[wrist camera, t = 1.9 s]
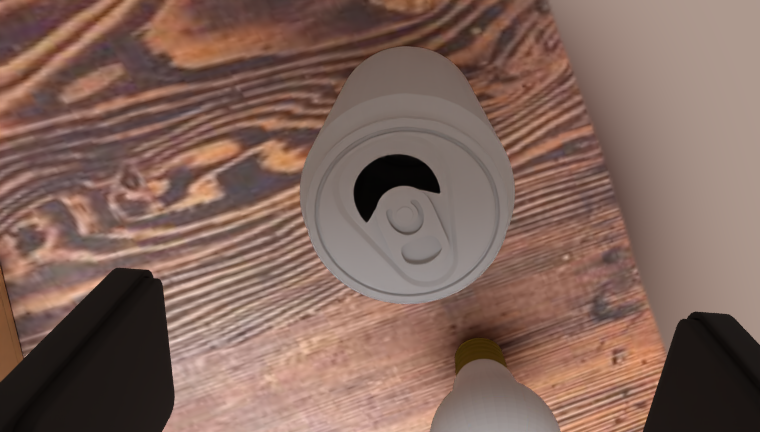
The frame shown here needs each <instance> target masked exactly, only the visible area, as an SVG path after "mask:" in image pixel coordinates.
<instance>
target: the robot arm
mask: <svg viewBox="0 0 760 432" xmlns="http://www.w3.org/2000/svg"><path fill="white" fill-rule="evenodd" d="M174 399H175V396H174V385H173V376H172V367H171V358H170V348H169V339H168V330H167V321H166V312H165V303H164V294H163V286H162V282H161V280H160V279H156V278H153V275H152V273H151V272H150V271H149V270H142V269H128V268H115V269H114V270H112V271H111V272H110V273H109V274H108V275H107V276H106V277H105V278H104V279H103V280H102V281H101V282H100V283H99V284H98V285H97V286H96V287H95V288H94V289H93V290H92V291H91V292H90V293H89V294H88V295H87V296H86V297H85V298H84V299H83V300H82V301H81V302H80V303H79V304H78V305H77V306H76V307H75V308H74V309H73V310H72V311H71V312H70V313H69V314H68V315H67V316H66V317H65V318H64V319H63V320H62V321H61V322H60V323H59V324H58V325H57V326H56V327H55V328H54V329H53V330H52V331H51V332H50V333H49V334H48V335H47V336H46V337H45V338H44V339H43V340H42V341H41V342H40V343H39V344H38V345H37V346H36V347H35V348H34V349H33V350H32V351H31V352H30V353H29V354H28V355H27V356H26V357H25V358H24V359H23V360H22V361H21V362H20V363H19V364H18V365H17V366H16V367H15V368H14V369H13V370H12V371H11V372H10V373H9V374H8V375H7V376H6V377H5V378H4V379H3V380H2V381H1V382H0V432H162V431H163V429H164V427H165V425H166V423H167V421H168V419H169V418H170V415H171V413H172V410H173V406H174ZM643 432H760V345H759V344H758V343H757V342H756V341H755V340H754V339H753V337H751V335H750V334H749V333H748V332H747V331H746V330H745V329H744V328H743V327H742V326H741V325H740V324H739V323H738V322H737V321H736V320H735V318H733V317H732V316H730V315H728V314H719V313H706V312H693V313H691V314H690V315H689V316H688V318H687V319H682V320H680V322H679V323H678V325H677V327H676V330H675V333H674V336H673V339H672V342H671V346H670V349H669V352H668V355H667V358H666V361H665V364H664V367H663V370H662V374H661V377H660V380H659V383H658V386H657V389H656V392H655V395H654V398H653V402H652V405H651V408H650V411H649V414H648V417H647V420H646V423H645V426H644V430H643Z"/></svg>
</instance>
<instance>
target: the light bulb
mask: <svg viewBox="0 0 760 432" xmlns="http://www.w3.org/2000/svg"><path fill="white" fill-rule="evenodd" d="M455 369H456V370H455V372H456V378H455V380H454V385H453V390H452V391H451V392H450V393H449V394H448V395H447V396H446V397H445V398H444V400H443V401H442V403H441V404H440V406H439V407H438V409H437V411H436V413H435V415H434V418H433V421H432V424H431V429H430V432H561V431H560V428H559V425H558V422H557V420H556V418H555V417H554V415H553V413H552V411H551V410H550V408H549V407H548V406H547V404H546V403H545V402H544V401H543V400H542V399H541V398H540V397H539V396H538V395H537V394H536V393H535V392H533V391H532V390H531V389H530V388H528V387H526V386H525V385H523V384H521V383H519V382H517V381H516V380H515V378H514V376H513V375H512V373H511V372H510V371H509V370H508V368H507V365H506V362H505V359H504V356H503V353H502V350H501V348H500V347H499V346H498V345H497V344H496V343H495V342H493V341H492V340H489V339H486V338H473V339H470V340H467V341H466V342H464V343H463V344H461V345H460V346H459V348H458V349H457V351H456V354H455Z"/></svg>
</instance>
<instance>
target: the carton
mask: <svg viewBox="0 0 760 432" xmlns="http://www.w3.org/2000/svg"><path fill="white" fill-rule="evenodd" d="M22 360H23V356H22V352H21V348H20V344H19V340H18V336H17V332H16V328H15V324H14V319H13V315H12V311H11V307H10V303H9V299H8V295H7V291H6V287H5V283H4V279H3V275H2V271H1V267H0V382H1V381H2V380H3V379H4V378H5V377H6V376H7V375H8V374H9V373H10V372H11V371H12V370H13V369H14V368H15V367H16V366H17V365H18V364H19V363H20V362H21V361H22Z"/></svg>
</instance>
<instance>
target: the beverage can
mask: <svg viewBox="0 0 760 432" xmlns="http://www.w3.org/2000/svg"><path fill="white" fill-rule="evenodd" d="M514 200H515V184H514V177H513V172H512V168H511V164H510V161H509V158H508V156H507V154H506V152H505V150H504V148H503V146H502V144H501V142H500V140H499V138H498V136H497V135H496V133H495V131H494V129H493V127H492V125H491V123H490V121H489V120H488V118H487V116H486V114H485V112H484V110H483V108H482V107H481V105H480V103H479V101H478V99H477V97H476V95H475V93H474V92H473V90H472V88H471V86H470V84H469V82H468V80H467V79H466V77H465V76H464V75H463V73H462V72H461V71H460V69H459V68H458V67H457V66H456V65H455V64H453V63H452V62H451V61H450V60H449V59H447V58H445V57H444V56H442V55H441V54H439V53H436V52H434V51H431V50H429V49H425V48H419V47H410V46H401V47H394V48H389V49H386V50H383V51H380V52H378V53H376V54H374V55H372V56H370V57H369V58H367V59H366V60H364V61H363V62H362V63H361V64H360V65H358V66H357V67H356V68H355V69H354V71H353V72H352V73H351V74H350V76H349V77H348V79H347V80H346V82H345V84H344V86H343V88H342V90H341V92H340V94H339V95H338V97H337V99H336V101H335V103H334V105H333V107H332V109H331V111H330V113H329V115H328V117H327V119H326V121H325V123H324V125H323V126H322V128H321V130H320V132H319V134H318V136H317V138H316V140H315V142H314V144H313V146H312V148H311V150H310V152H309V154H308V156H307V158H306V161H305V164H304V167H303V171H302V176H301V183H300V205H301V211H302V215H303V219H304V223H305V225H306V228H307V230H308V234H309V237H310V240H311V243H312V245H313V247H314V249H315V252H316V253H317V255H318V257H319V258H320V260H321V261H322V262H323V264H324V265H325V266H326V268H327V269H328V270H329V271H330V272H331V273H332V274H333V275H334V276H335V277H336V278H337V279H339V280H340V281H341V282H342V283H344V284H345V285H346V286H348V287H349V288H351V289H353V290H355V291H356V292H358V293H360V294H363V295H365V296H367V297H370V298H373V299H376V300H380V301H384V302H390V303H398V304H418V303H426V302H431V301H435V300H439V299H442V298H445V297H447V296H450V295H452V294H454V293H456V292H458V291H460V290H462V289H464V288H465V287H467V286H468V285H470V284H471V283H472V282H474V281H475V280H476V279H477V278H478V277H480V276H481V275H482V274H483V273H484V272H485V270H486V269H487V268H488V267H489V266H490V265H491V263H492V262H493V260H494V259H495V257H496V256H497V254H498V252H499V250H500V248H501V246H502V244H503V241H504V238H505V235H506V232H507V229H508V226H509V224H510V221H511V217H512V213H513V208H514Z"/></svg>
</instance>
